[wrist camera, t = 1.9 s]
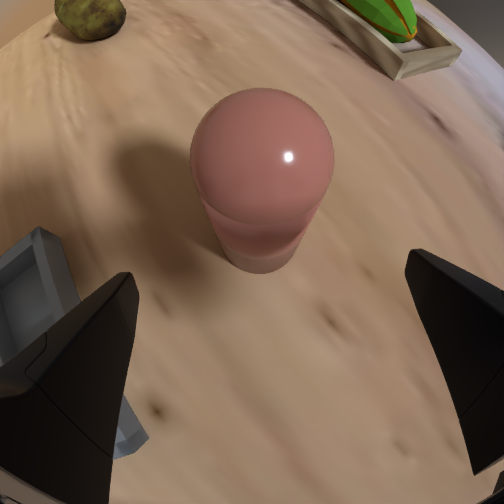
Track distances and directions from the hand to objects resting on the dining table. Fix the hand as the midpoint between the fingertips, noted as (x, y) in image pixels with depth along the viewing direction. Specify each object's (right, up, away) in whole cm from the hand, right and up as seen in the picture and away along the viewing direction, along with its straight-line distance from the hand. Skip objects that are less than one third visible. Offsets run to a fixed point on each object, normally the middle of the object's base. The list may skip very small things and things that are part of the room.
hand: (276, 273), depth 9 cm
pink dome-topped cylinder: (0, +2, +12) cm, 12 cm away
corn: (+12, +31, +19) cm, 38 cm away
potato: (-21, +30, +19) cm, 42 cm away
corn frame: (+13, +31, +19) cm, 39 cm away
